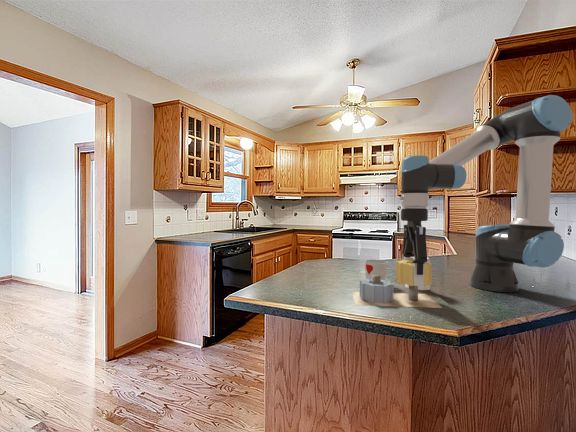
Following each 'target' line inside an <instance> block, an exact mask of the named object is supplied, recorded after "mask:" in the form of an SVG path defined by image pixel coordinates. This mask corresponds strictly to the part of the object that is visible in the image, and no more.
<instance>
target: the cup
mask: <svg viewBox="0 0 576 432" xmlns="http://www.w3.org/2000/svg"><path fill="white" fill-rule="evenodd" d="M388 264H389V261H387V260H383V259H365V260H364V271H365V280H366V279H372V275H380V276H381V280H385V281H387V280H386V279H387V275H388Z"/></svg>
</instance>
